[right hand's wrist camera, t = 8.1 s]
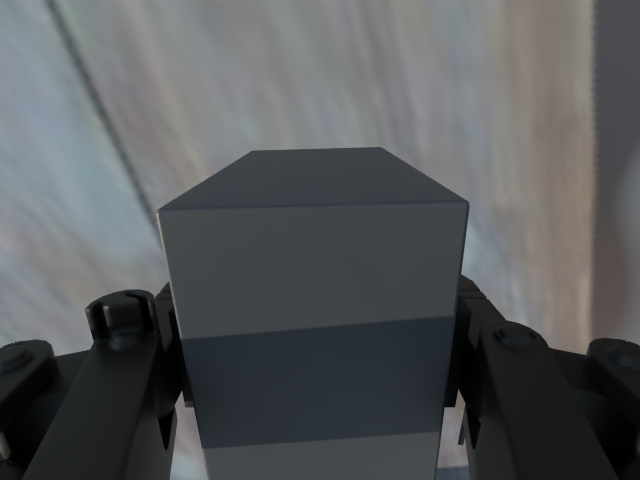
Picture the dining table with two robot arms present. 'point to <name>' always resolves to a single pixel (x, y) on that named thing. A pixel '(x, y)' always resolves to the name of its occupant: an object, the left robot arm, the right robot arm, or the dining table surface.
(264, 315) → the bar
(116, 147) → the dining table surface
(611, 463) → the right robot arm
